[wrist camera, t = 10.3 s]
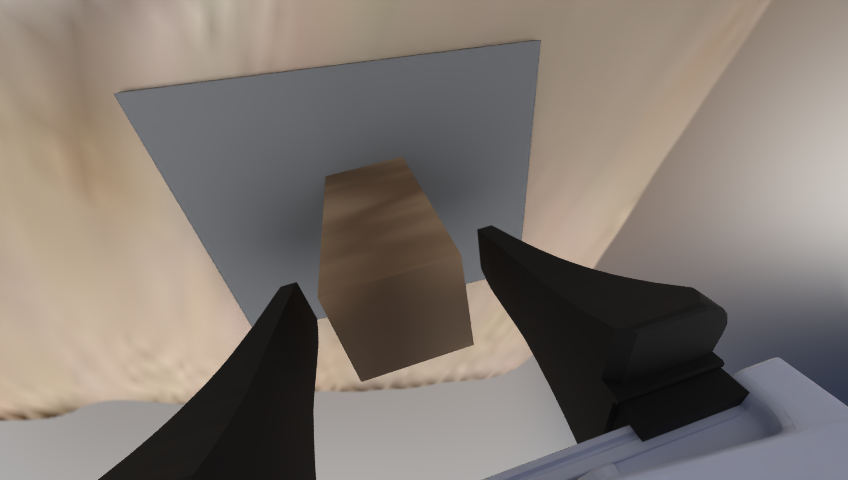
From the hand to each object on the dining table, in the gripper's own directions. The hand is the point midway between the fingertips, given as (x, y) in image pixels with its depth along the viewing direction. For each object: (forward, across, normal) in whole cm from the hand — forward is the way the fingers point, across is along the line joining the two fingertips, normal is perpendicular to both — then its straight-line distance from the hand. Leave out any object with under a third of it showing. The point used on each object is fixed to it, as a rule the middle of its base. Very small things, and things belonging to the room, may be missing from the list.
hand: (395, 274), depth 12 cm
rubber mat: (+6, 0, 0) cm, 7 cm away
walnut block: (+6, 0, 0) cm, 6 cm away
